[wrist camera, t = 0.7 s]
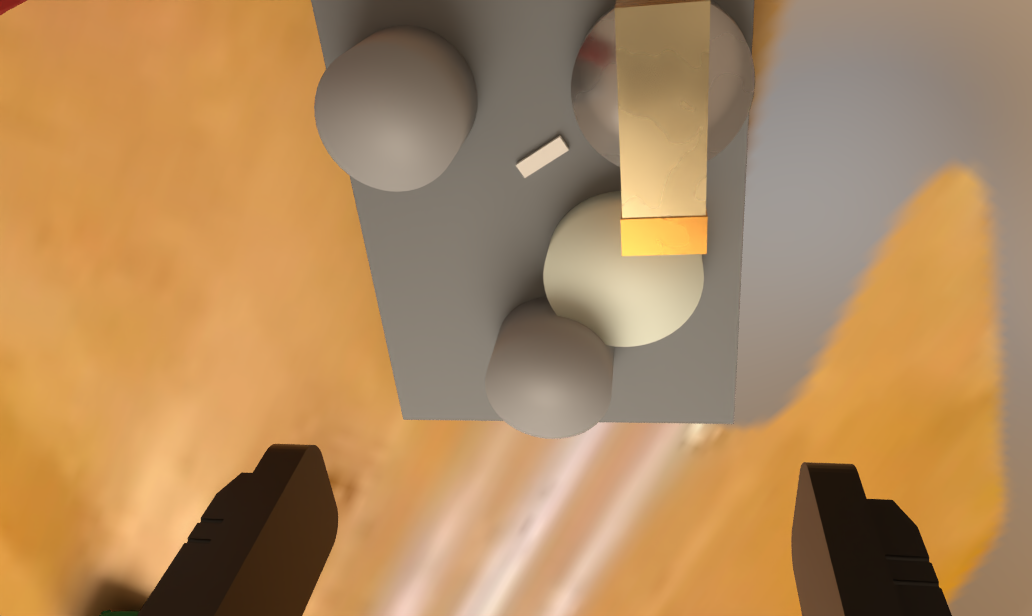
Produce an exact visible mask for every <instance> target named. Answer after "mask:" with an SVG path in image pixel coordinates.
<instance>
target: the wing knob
mask: <svg viewBox="0 0 1032 616" xmlns="http://www.w3.org/2000/svg"><path fill="white" fill-rule="evenodd" d="M754 87H755V71H754V65H753V59H752V56H751V52H750V49H749V47H748V44H747V42H746V40H745V38H744V36H743V34H742V32H741V30H740V29H739V27H738V25H737V24H736V22H735V21H734V20H733V19H732V18H731V16H730V15H729V14H728V13H727V12H726V11H725V10H724V9H722V8H721V7H720V6H719V5H718V4H716V3H715V2H713V1H711V0H616V4H615V5H614V6H613V7H611V8H610V9H609V10H608V11H606V12H605V13H604V14H603V15H602V16H601V17H600V18H599V19H598V20H597V21H596V22H595V24H594V25H593V26H592V28H591V29H590V30H589V32H588V33H587V35H586V37H585V39H584V41H583V42H582V45H581V47H580V50H579V52H578V55H577V58H576V60H575V64H574V68H573V72H572V80H571V99H572V107H573V111H574V114H575V118H576V120H577V123H578V125H579V128H580V129H581V131H582V133H583V135H584V136H585V138H586V139H587V141H588V142H589V143H590V144H591V146H592V147H593V148H594V149H595V150H596V151H597V152H598V153H599V154H600V155H602V156H603V157H604V158H606V159H607V160H608V161H610V162H612V163H613V164H615V165H617V166H619V167H620V170H621V198H622V207H621V246H622V256H645V255H685V254H707V223H708V216H707V209H706V182H707V161H709V160H710V159H712V158H713V157H715V156H716V155H717V154H719V153H720V152H721V151H722V150H723V149H724V148H725V147H726V146H727V145H728V144H729V143H730V142H731V141H732V140H733V139H734V137H735V136H736V135H737V133H738V132H739V130H740V129H741V127H742V125H743V123H744V122H745V120H746V118H747V115H748V112H749V110H750V107H751V103H752V99H753V95H754Z"/></svg>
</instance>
